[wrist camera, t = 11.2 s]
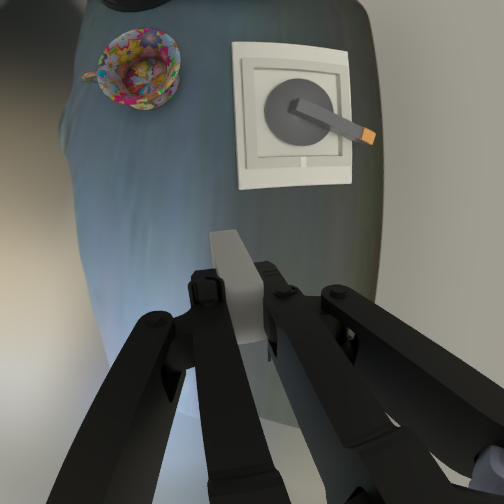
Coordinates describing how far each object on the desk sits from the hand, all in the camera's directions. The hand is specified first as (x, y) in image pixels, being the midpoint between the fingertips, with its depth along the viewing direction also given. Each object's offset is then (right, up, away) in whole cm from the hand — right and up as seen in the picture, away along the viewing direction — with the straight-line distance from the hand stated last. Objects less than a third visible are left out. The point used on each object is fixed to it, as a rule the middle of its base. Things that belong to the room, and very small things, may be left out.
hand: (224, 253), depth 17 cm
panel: (+8, +20, +23) cm, 32 cm away
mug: (-14, +24, +17) cm, 32 cm away
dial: (+11, +19, +22) cm, 31 cm away
